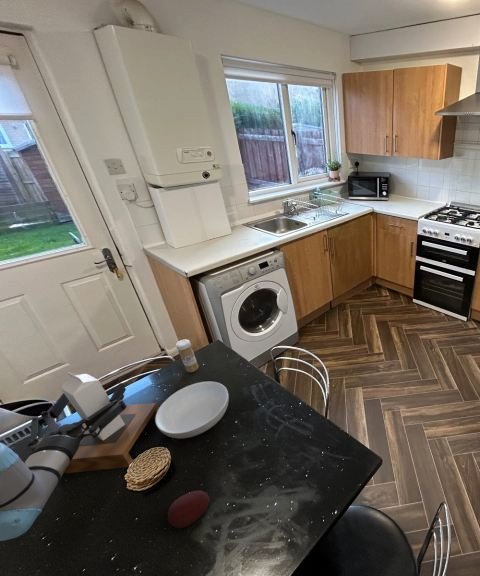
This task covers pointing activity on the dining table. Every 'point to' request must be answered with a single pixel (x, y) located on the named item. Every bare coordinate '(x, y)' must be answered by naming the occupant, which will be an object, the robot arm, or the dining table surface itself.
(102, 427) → the robot arm
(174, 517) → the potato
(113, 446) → the wooden serving tray
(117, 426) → the milk
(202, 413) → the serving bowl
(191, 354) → the sprinkles bottle
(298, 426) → the dining table surface
